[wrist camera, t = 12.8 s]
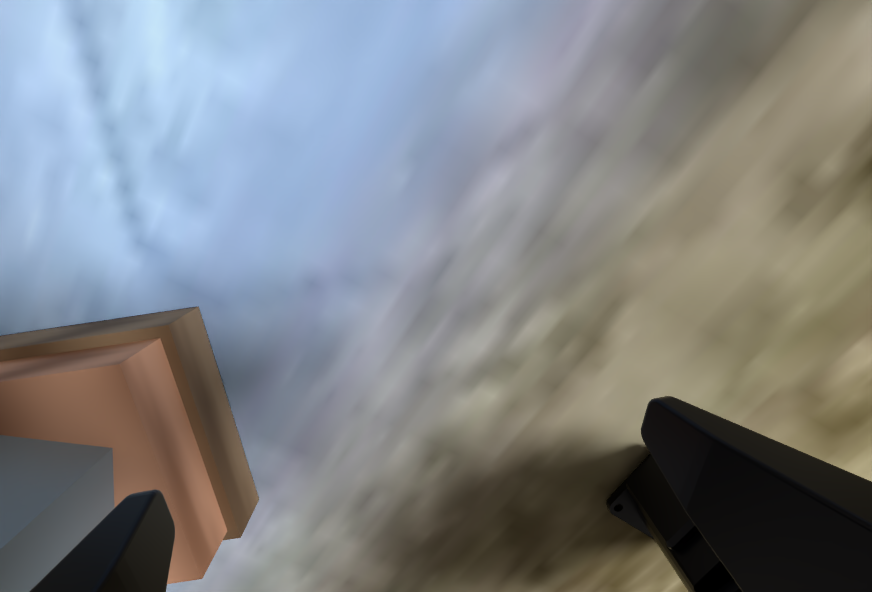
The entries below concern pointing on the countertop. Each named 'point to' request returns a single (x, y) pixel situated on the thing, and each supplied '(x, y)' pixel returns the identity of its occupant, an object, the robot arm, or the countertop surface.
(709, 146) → the countertop surface
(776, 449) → the robot arm
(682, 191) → the countertop surface
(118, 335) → the brown stepped block
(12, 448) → the column brick
